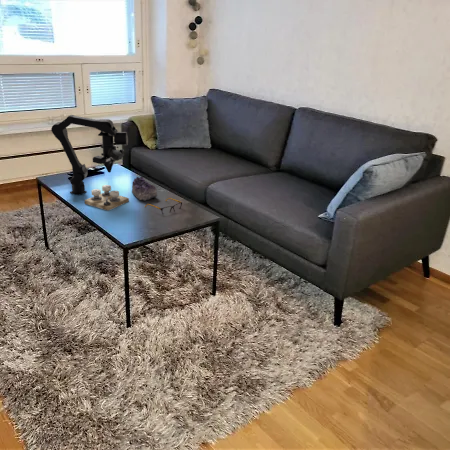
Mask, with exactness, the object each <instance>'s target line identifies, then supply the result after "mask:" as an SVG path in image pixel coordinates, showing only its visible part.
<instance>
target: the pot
mask: <svg viewBox="0 0 450 450" xmlns="http://www.w3.org/2000/svg"><path fill="white" fill-rule="evenodd" d="M104 205H106V206H108V205H111V203H110V202H108V197H106V202H104Z"/></svg>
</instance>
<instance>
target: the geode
mask: <svg viewBox="0 0 450 450" xmlns="http://www.w3.org/2000/svg"><path fill="white" fill-rule="evenodd" d="M131 188H132V190H131V193H132V194H133V195H134V196H135V197H136V198H137V199H138V200H140V201H142V202H146V201H149V200H151V199H153V198H157V196H158V193H157V192H158V191H157V188H156V186H155V185H153V184H151V183H149V182H148V181H147V180H145V178H144V177H143V175H142V176H140V177H138V176H136V178H134V180H133V181H132V187H131Z"/></svg>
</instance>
